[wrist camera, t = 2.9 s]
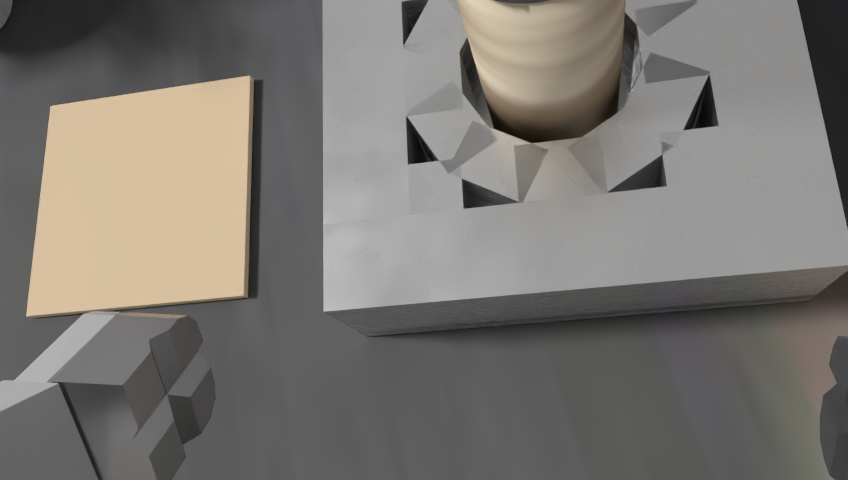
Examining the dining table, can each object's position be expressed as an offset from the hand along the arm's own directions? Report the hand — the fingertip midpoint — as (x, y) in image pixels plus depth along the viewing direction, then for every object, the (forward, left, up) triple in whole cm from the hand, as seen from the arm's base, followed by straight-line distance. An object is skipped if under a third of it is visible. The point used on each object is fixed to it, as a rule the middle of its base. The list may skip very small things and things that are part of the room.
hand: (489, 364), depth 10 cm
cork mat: (+11, +17, -18) cm, 27 cm away
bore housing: (+12, -1, -18) cm, 22 cm away
